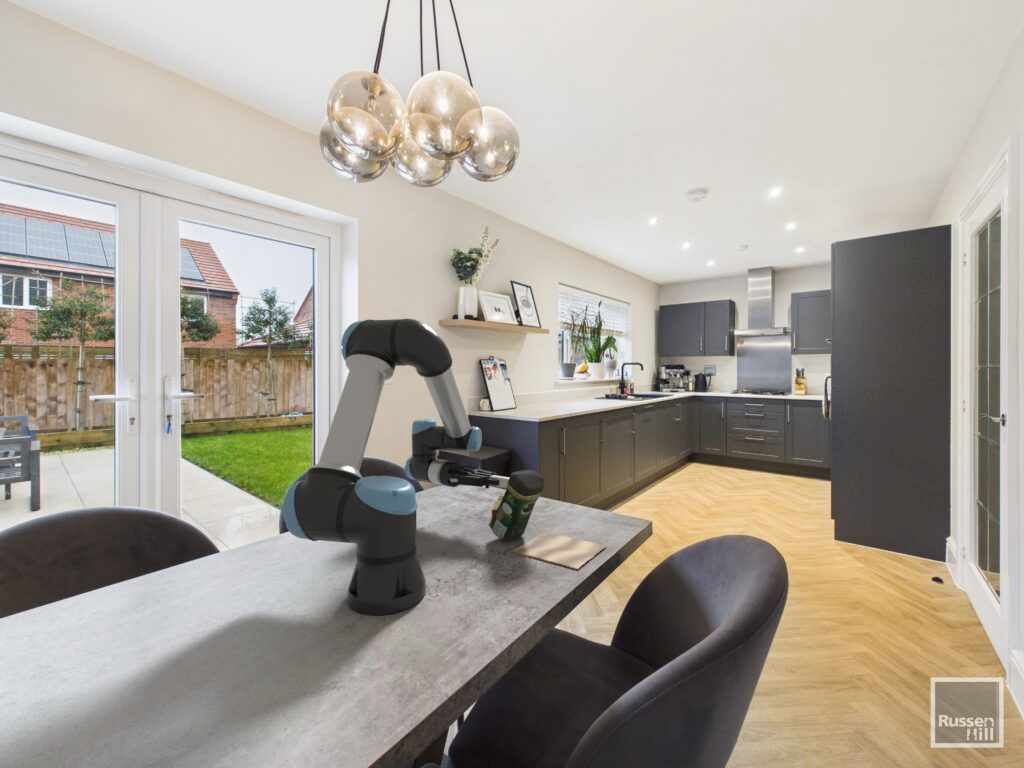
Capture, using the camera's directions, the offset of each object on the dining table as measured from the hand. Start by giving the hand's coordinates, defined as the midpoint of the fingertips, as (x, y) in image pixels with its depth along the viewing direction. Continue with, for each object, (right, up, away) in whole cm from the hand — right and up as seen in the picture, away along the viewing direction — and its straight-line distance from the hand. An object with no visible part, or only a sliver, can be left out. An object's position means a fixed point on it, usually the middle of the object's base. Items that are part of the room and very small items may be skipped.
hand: (510, 483), depth 122 cm
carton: (-1, -15, +20) cm, 25 cm away
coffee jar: (-1, -13, 0) cm, 13 cm away
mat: (+13, -15, -9) cm, 21 cm away
